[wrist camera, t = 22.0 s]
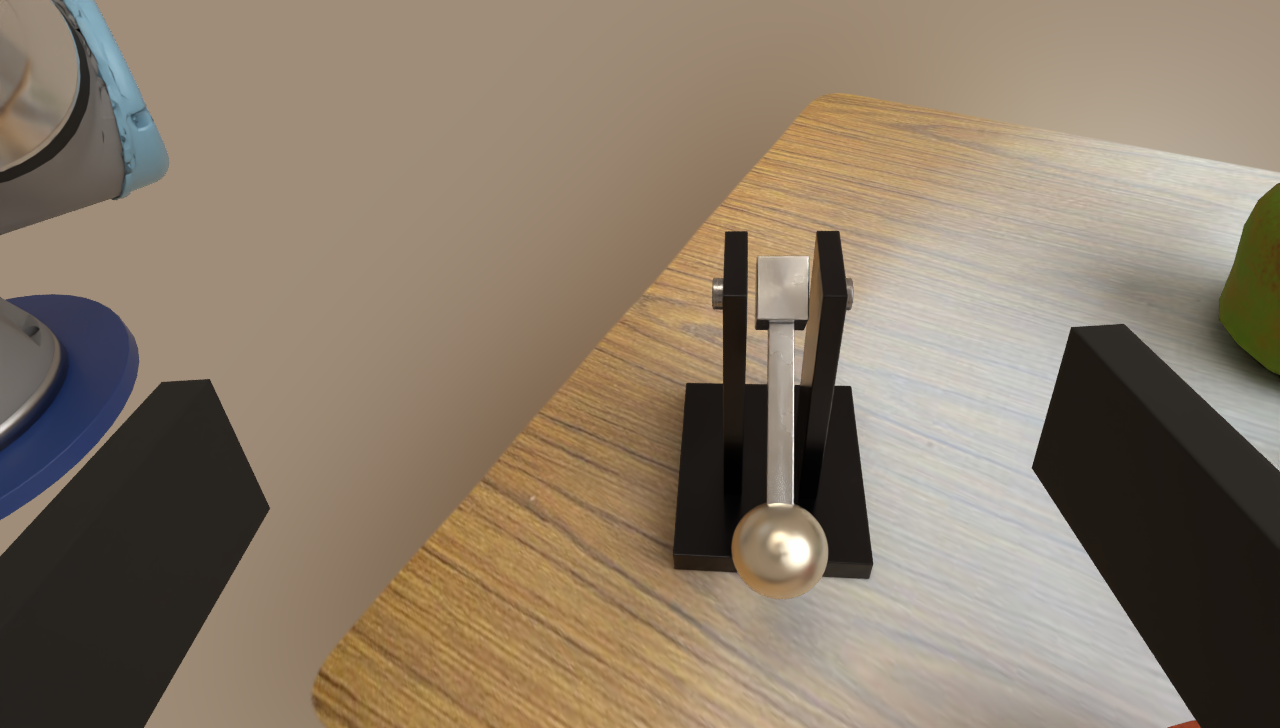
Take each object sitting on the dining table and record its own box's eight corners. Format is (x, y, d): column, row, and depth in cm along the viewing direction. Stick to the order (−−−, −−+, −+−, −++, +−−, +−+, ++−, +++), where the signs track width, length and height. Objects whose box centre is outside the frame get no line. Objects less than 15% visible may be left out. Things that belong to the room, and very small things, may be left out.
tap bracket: (869, 579, 39) (929, 366, 27) (674, 569, 40) (654, 362, 29) (848, 401, 47) (887, 181, 36) (687, 398, 48) (675, 184, 37)
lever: (822, 594, 33) (834, 609, 29) (731, 588, 34) (730, 603, 30) (822, 274, 35) (833, 249, 31) (736, 274, 36) (735, 250, 32)
